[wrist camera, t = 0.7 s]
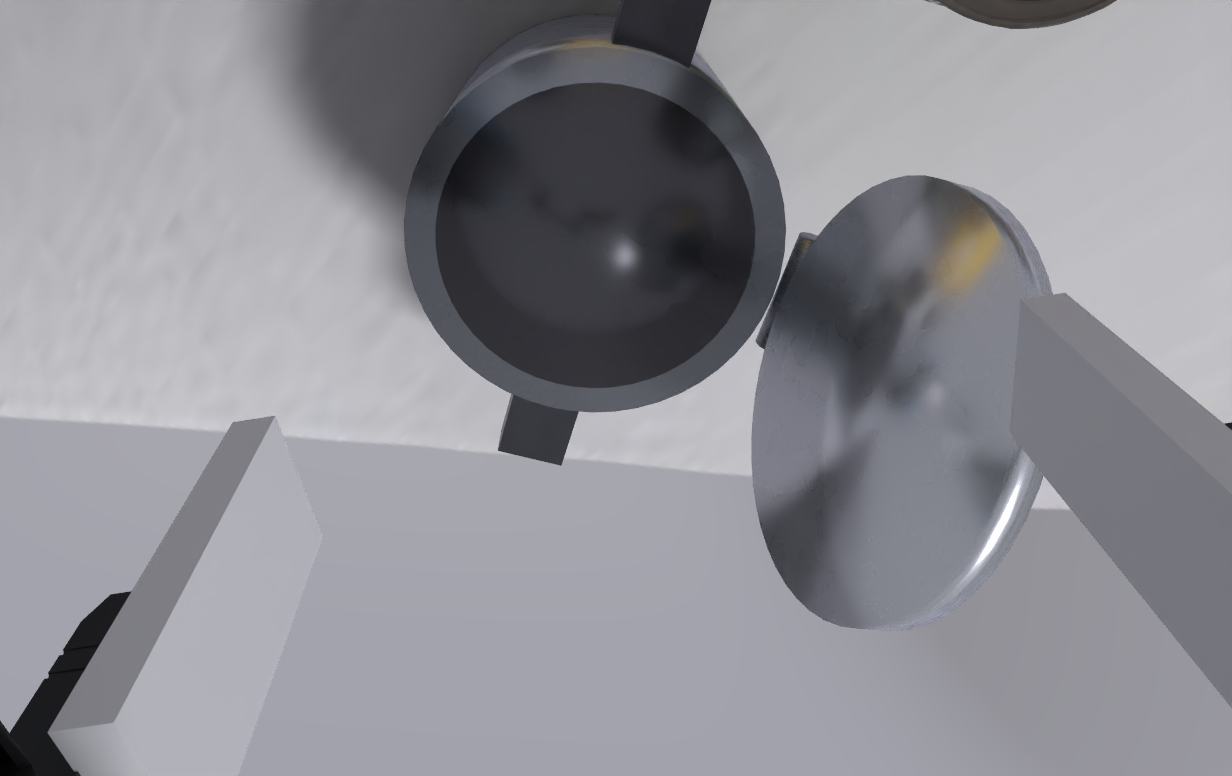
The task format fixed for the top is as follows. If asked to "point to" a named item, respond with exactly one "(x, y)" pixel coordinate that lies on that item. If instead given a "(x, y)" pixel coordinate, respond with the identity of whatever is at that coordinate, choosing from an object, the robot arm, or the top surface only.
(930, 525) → the lid
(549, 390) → the pot
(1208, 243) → the top surface
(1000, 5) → the coffee can
